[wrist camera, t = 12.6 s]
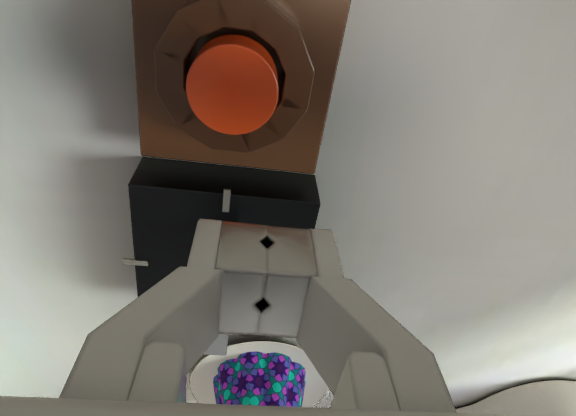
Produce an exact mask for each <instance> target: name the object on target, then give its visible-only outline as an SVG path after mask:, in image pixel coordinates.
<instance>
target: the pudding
mask: <svg viewBox="0 0 576 416" xmlns="http://www.w3.org/2000/svg"><path fill="white" fill-rule="evenodd" d="M190 389H191V391H192V394H193V396H194V397H195V398H196V400H197V401H198V402H199V403H203V404H230V405H257V406H284V407H313V406H314V405H315V404H317V403H318V402H319V401H320V400H321V399H322V398H323V396H324V395H325V393H326V392H327V390H328V386H327V385H326V383H325V382H324V380H323V379H322V377H321V376H320V374H319V373H318V371H317V370H316V368H315V367H314V365H313V364H312V362H311V361H310V359H309V358H308V357H307V355H306V354H305V352H304V351H303V349H301V348H299V347H296V346H293V345H289V344H285V343H279V342H271V341H253V342H244V343H239V344H234V345H230V346H227V354H226V356H220V355H208V356H206V357H205V358H204V359H202V360H201V361H200V362H199V363H198V364H197V365H196V367H195V368H194V370H193V372H192V374H191V377H190Z"/></svg>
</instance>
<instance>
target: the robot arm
mask: <svg viewBox="0 0 576 416" xmlns="http://www.w3.org/2000/svg"><path fill="white" fill-rule="evenodd" d="M218 334H243V335H264V336H276V337H288V338H297V339H296V340H297V342H298V343H299V345H300V346H301V348H302V349H303V351H304V352H305V354H306V355H307V357H308V358H309V359H310V361H311V362H312V364H313V365H314V367H315V368H316V370H317V371H318V373H319V374H320V376H321V377H322V379H323V380H324V382H325V383H326V385H327V386H328V388H329V389H330V391H331V392H332V394H333V395H334V398H333V400H332V403H331V406H330V408H311V407H284V406H257V405H230V404H203V403H186V375H187V374H188V372H189V371H190V370H191V369H192V368H193V366H194V365H195V364H196V363H197V361H198V360H199V359H200V358H201V356H202V355H203V354H204V353H205V352H206V350H207V349H208V348H209V347H210V345H211V344H212V343H213V342H214V341H215V339H216V338H217V337H218ZM0 416H576V382H575V381H566V380H552V381H541V382H534V383H529V384H524V385H520V386H516V387H513V388H510V389H507V390H504V391H501V392H499V393H496V394H494V395H492V396H490V397H488V398H486V399H484V400H482V401H479V402H477V403H475V404H472V405H469V406H465V407H462V408H458V409H455V407H454V404H453V402H452V399H451V396H450V394H449V391H448V389H447V386H446V384H445V381H444V379H443V376H442V374H441V371H440V369H439V366H438V364H437V361H436V359H435V356H434V354H433V353H432V352H431V351H430V350H429V349H428V348H426V347H425V346H424V345H423V344H422V343H421V342H420V341H419V340H418V339H416V338H415V337H414V336H413V335H412V334H411V333H410V332H409V331H408V330H407V329H405V328H404V327H403V326H402V325H401V324H400V323H399V322H398V321H397V320H395V319H394V318H393V317H392V316H391V315H390V314H389V313H388V312H387V311H386V310H384V309H383V308H382V307H381V306H380V305H379V304H378V303H377V302H376V301H374V300H373V299H372V298H371V297H370V296H369V295H368V294H367V293H366V292H365V291H363V290H362V289H361V288H360V287H359V286H358V285H357V284H356V283H355V282H353V281H352V280H351V279H344V275H343V271H342V266H341V262H340V258H339V254H338V249H337V245H336V241H335V236H334V232H333V231H332V230H327V229H301V228H288V227H276V226H267V225H259V224H250V223H240V222H231V221H223V223H222V221H221V220H211V219H199V221H198V222H197V226H196V231H195V235H194V239H193V243H192V247H191V251H190V255H189V260H188V264H187V267H181V266H180V267H178V268H177V269H176V270H174V271H173V272H172V273H170V274H169V275H168V276H166V277H165V278H163V279H162V280H161V281H159V282H158V283H157V284H155V285H154V286H153V287H151V288H150V289H149V290H147V291H146V292H145V293H143V294H142V295H140V296H139V297H138V298H136V299H135V300H134V301H132V302H131V303H130V304H128V305H127V306H126V307H124V308H123V309H122V310H120V311H119V312H118V313H116V314H115V315H113V316H112V317H111V318H109V319H108V320H107V321H105V322H104V323H103V324H101V325H100V326H99V327H97V328H96V329H95V330H93V331H92V332H90V333H89V334H88V335H87V337H86V339H85V342H84V344H83V346H82V348H81V351H80V353H79V355H78V357H77V359H76V362H75V364H74V366H73V368H72V370H71V373H70V375H69V377H68V379H67V381H66V384H65V386H64V388H63V390H62V392H61V395H60V397H59V398H41V397H13V396H0Z"/></svg>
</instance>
